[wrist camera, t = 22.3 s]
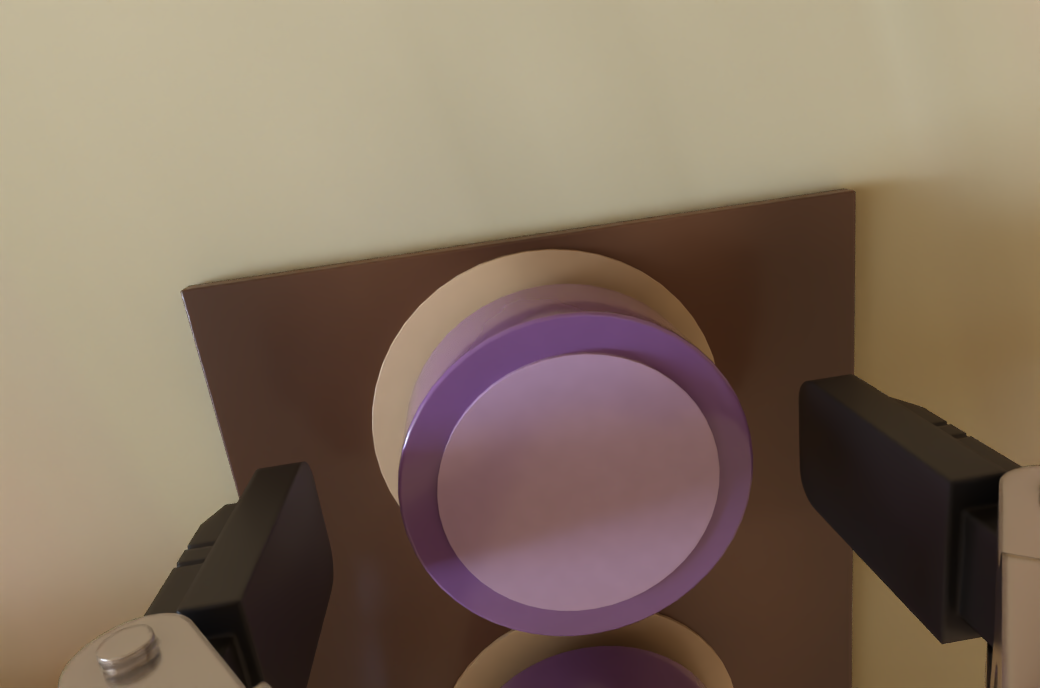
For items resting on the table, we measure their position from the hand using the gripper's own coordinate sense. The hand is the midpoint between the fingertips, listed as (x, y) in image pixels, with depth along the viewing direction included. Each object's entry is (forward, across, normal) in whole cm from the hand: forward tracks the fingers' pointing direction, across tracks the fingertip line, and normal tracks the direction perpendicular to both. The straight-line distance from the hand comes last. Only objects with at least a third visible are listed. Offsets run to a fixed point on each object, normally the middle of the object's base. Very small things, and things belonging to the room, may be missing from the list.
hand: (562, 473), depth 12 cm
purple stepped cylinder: (+2, 0, 0) cm, 2 cm away
